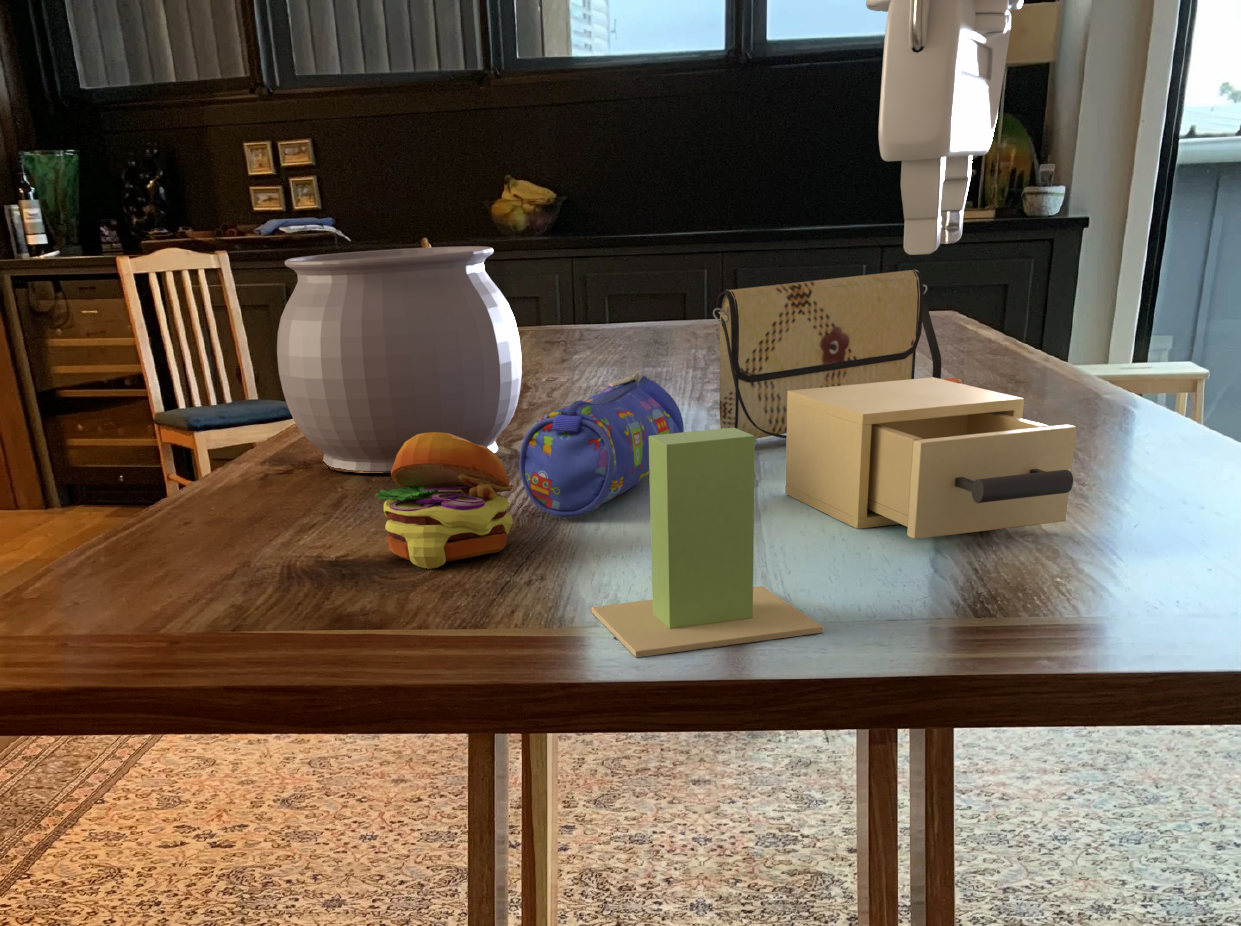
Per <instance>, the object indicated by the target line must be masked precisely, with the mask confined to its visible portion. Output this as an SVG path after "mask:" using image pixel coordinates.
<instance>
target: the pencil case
mask: <svg viewBox="0 0 1241 926" xmlns="http://www.w3.org/2000/svg"><path fill="white" fill-rule="evenodd" d="M607 384H608V387H607V388H605V389H604V390H602V391H600V393H596V394H593V395H591V396H590V397H588V398H587V399H585V400H575V401H574V402H572V403H571V404H570V405H569V406H568V405H567V406H564V407H561V408H558V409H555V410H554V411H552V412H550V413H548V414H546V415H545V416H543V417H540V418H539V419H537V421H535V422H534V423H533V424H532V425H531V426H530V427H529V430H527V432H526V434H525V435H524V438H523V440H522V443H521V446H520V450H519V451H520V452H519V459H518V460H519V473H520V478H521V482H522V486H523V487H524V490H525V492H526V495H527V496H528V497H529V499H530V500H531V502H532V503H533V504H534V505H535V506H536V507H537V508H539V509H540V510H541V511H543V512H545V513H547V514H549V515H551V516H554V517H557V518H558V517H559V518H576V517H581V516H583V515H586V514H588V513H591V512H592V511H594V510H596V509H598V508H599V507H600V506H601V505H603V504H605V503H607V502H609V501H610V500H613V499H614V498H616V497H617V496H619V495H621V494H623V493H625V492H627V491H628V490H630V489H631V488H633V487H635V486H637V485H638V484H640V483H641V482H643V481H644V480H645V479H647V478H648V477H650V474H649V436H651V435H662V434H672V433H682V432H685V427H684V420H683V415H682V413H681V410H680V408H679V406H678V404H677V402H676V401H675V399H674V398H673V397H672V396H671V395H670V394H669V392H668V391H666V390H665V389H664V388H663V387H662V386H661V385H659V384H658V382H656V381H654V380H653V379H650V378H648V377H647V375H641V373H640V371H638V370H637V371H635V373H634V374H632V375H630V376H628V377H624V378H621V379H618V380H615V381H613V382H609V383H607Z"/></svg>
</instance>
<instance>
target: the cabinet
mask: <svg viewBox="0 0 1241 926" xmlns="http://www.w3.org/2000/svg"><path fill="white" fill-rule="evenodd" d="M942 379H943V378H941V379H938V378H934V377H932V376H931V377H923V378H922V377H921V378H914V379H909V380H898V381H887V382H877V383H866V384H855V385H844V386H833V387H823V388H812V389H801V390H790V391H788V393H787V400H788V401H787V433H786V435H787V437H786V438H785V439H786V444H785V450H786V451H785V481H784V482H785V484H784V485H785V486H784V495H787V496H789V497H791V498H793V499H795V500H797V501H799V502H801V503H803V504H805V505H807V506H809V507H811V508H813V509H816V510H818V511H820V512H821V513H824V514H825V515H828V516H830V517H832V518H834V519H836V520H837V521H841V522H842V523H844V524H846V525H848V526H850V527H852V528H854V529H857V530H860V529H868V528H877V527H884V526H885V527H887V526H893V525H895V526H896V525H901V524H900V523H898V522H895V521H893V520H891V519H889V518H886V517H884V516H882V515H880V514H878V513H875V512H873V511H871V510H869V509H867V503H868V485H869V466H870V447H871V428H872V425H871V424H879V423H889V422H899V421H909V420H919V419H929V418H940V417H950V416H960V415H970V414H980V413H990V412H997V413H1001V414H1005V415H1009V416H1013V417H1017V418H1021V419H1023V415H1024V413H1023V412H1024V405H1025V398H1024V397H1019V396H1015V395H1011V394H1007V393H1002V392H998V391H994V390H989V389H985V388H980V387H976V386H972V385H968V384H964V383H962V384H960V383H955V382H951V381H947V380H942Z"/></svg>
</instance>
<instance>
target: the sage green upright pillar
mask: <svg viewBox="0 0 1241 926" xmlns="http://www.w3.org/2000/svg"><path fill="white" fill-rule="evenodd" d="M755 457H756V439H755V436H753V435H751V434H749V433H746V432H744V431H741V430H739V429H736V428H734V427H733V428H723V429H721V428H715V429H714V428H713V429H703V430H694V431H684V432H682V433H672V434H662V435H651V436H649V474H650V476H649V507H650V509H649V512H650V553H651V554H650V556H651V557H650V558H651V592H652V593H651V594H652V595H651V596H652V598H651V600H653V614H654V615H655V616H656V617H657V618H658V619H659V620H661V621H662V622H663V623H664V624H665V625H666V626H667V627H668V628H670V629H672V628H679V627H687V626H695V625H703V624H710V623H718V622H726V621H733V620H741V619H749V618H753V587H754V551H755V549H754V548H755V547H754V545H755V543H754V542H755V540H754V539H755V477H756V476H755V469H756V467H755V466H756V465H755V464H756V463H755V462H756V458H755Z"/></svg>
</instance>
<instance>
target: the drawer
mask: <svg viewBox="0 0 1241 926" xmlns="http://www.w3.org/2000/svg"><path fill="white" fill-rule="evenodd" d="M871 425H872V428H871V447H870V466H869V485H868V503H867V509H869V510H871V511H873V512H875V513H878V514H880V515H882V516H884V517H886V518H889V519H891V520H893V521H895V522H898V523H900V524H899V525H902V526H904V527H906V528H907V529H906V536H907V537H909V538H911V539H912V540H920V539H929V538H936V537H937V538H938V537H944V536H946V537H947V536H954V535H962V534H970V533H971V534H972V533H979V532H987V531H995V530H996V531H997V530H1003V529H1004V530H1005V529H1012V528H1021V527H1029V526H1036V525H1045V524H1052V523H1053V524H1055V523H1063V522H1066V519H1067V512H1068V511H1067V509H1068V502H1069V495H1070V492H1071V490H1072V488H1073V486H1074V475H1073V473H1072V470H1073V462H1074V454H1075V445H1076V437H1077V430H1078V429H1077V426H1075V425H1071V424H1060V425H1059V424H1058V425H1050V426H1049V425H1047V424H1044V423H1040V422H1036V421H1032V420H1029V419H1024V418H1022V419H1021V418H1017V417H1013V416H1009V415H1005V414H1001V413H997V412H990V413H980V414H970V415H960V416H950V417H940V418H929V419H919V420H909V421H899V422H889V423H879V424H871Z"/></svg>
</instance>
